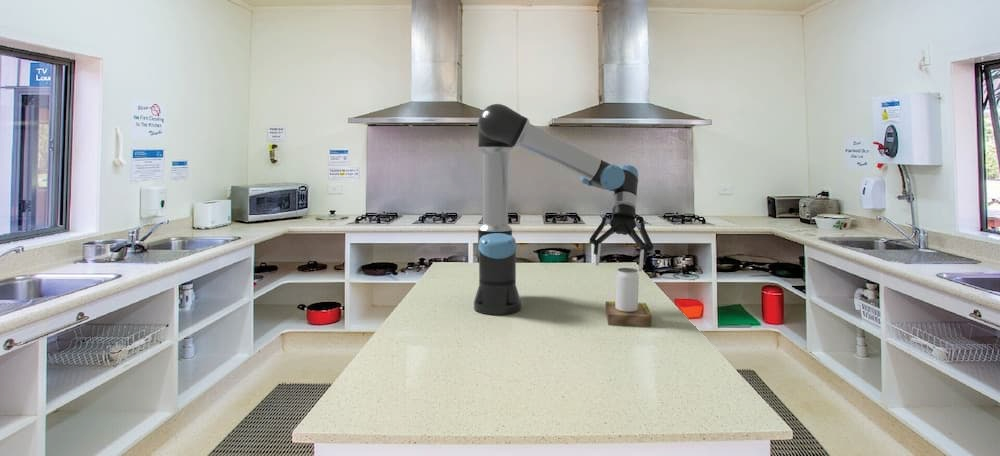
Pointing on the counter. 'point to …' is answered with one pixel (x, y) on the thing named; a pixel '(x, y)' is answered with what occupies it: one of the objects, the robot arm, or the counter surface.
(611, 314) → the dock
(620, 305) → the can
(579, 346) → the counter surface
